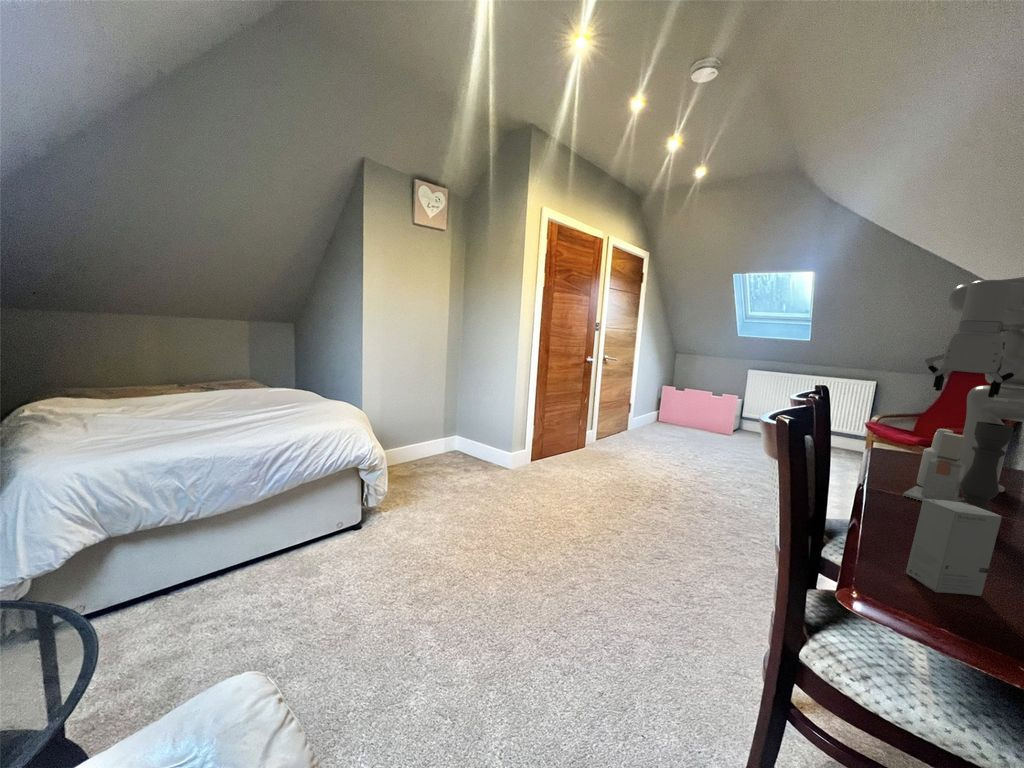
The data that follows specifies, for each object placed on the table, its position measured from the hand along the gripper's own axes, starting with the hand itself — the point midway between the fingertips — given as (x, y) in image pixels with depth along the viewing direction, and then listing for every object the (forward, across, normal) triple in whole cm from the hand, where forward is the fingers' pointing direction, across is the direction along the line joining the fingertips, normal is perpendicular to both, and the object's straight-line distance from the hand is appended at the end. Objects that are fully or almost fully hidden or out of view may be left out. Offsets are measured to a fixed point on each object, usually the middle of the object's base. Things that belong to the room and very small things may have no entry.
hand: (963, 393), depth 109 cm
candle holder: (+31, -8, +13) cm, 34 cm away
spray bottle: (+30, +4, -15) cm, 34 cm away
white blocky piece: (+30, 0, -1) cm, 30 cm away
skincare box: (+31, -11, +56) cm, 65 cm away
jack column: (+29, 0, -1) cm, 29 cm away
